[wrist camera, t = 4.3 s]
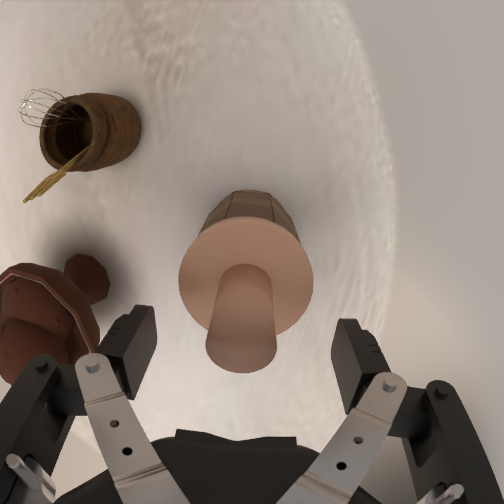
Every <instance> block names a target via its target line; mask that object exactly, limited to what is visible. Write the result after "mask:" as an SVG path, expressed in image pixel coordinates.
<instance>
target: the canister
mask: <svg viewBox="0 0 504 504" xmlns="http://www.w3.org/2000/svg"><path fill="white" fill-rule="evenodd" d="M234 217H257V218H262V219H266V220H269V221H271V222H274V223H276V224H278V225H280V226H282V227H283V228H285V229H286V230H287V231H289V232H290V233H291V234H292V235H293V236H294V237H295V238H296V239H297V240H298V241H299V238H298V235H297V232H296V230H295V227H294V224H293V221H292V219H291V217H290V216H289V215H288V214H287V213H286V212H285V210H284V209H283V207H282V206H281V204H280V203H279V202H278V201H277V200H275V199H274V198H273V197H272V196H271V195H270V194H269V193H263V192H259V191H253V190H246V191H240V192H237V191H235V192H233V193H232V194H231V195H230V196H228V197H227V198H225V199H224V200H223V201H222V202H221V203H220V204H219V205H218V206H217V207H216V208H215V209H214V210H213V211H212V212H211V213H210V214H209V216H208V218H207V219H206V221H205V223H204V225H203V227H202V228H201V230H200V232H199V234H200V233H201V232H203V231H204V230H205V229H206V228H208V227H210V226H211V225H213V224H215V223H217V222H219V221H222V220H225V219H229V218H234ZM199 234H198V235H199ZM299 243H300V241H299ZM300 244H301V243H300Z"/></svg>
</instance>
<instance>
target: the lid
mask: <svg viewBox="0 0 504 504" xmlns="http://www.w3.org/2000/svg"><path fill="white" fill-rule="evenodd" d="M179 291H180V294H181V298H182V301H183V303H184V305H185V307H186V309H187V310H188V312H189V313H190V314H191V316H192V317H193V318H194V319H195V320H196V321H197V322H198V323H199V324H200V325H201V326H203V327H204V328H205V329H207V330H208V334H207V339H206V351H207V354H208V356H209V357H210V359H211V360H212V361H213V362H214V363H215V364H216V365H218V366H219V367H221V368H222V369H225V370H227V371H230V372H235V373H250V372H255V371H258V370H260V369H262V368H264V367H266V366H267V365H268V364H269V363H270V362H271V361H272V360H273V358H274V357H275V354H276V351H277V342H276V335H278V334H280V333H282V332H284V331H285V330H287V329H288V328H290V327H291V326H292V325H294V324H295V323H296V322H297V321H298V320H299V319H300V317H301V316H302V315H303V313H304V312H305V310H306V308H307V307H308V305H309V302H310V300H311V296H312V292H313V274H312V269H311V266H310V263H309V260H308V258H307V255H306V252H305V251H304V249H303V247H302V245H301V244H300V243H299V241H298V240H297V239H296V238H295V237H294V236H293V235H292V234H291V233H290V232H289V231H287V230H286V229H285V228H283V227H282V226H280V225H278V224H276V223H274V222H271V221H269V220H266V219H262V218H257V217H234V218H229V219H225V220H222V221H219V222H217V223H215V224H213V225H211V226H210V227H208V228H206V229H205V230H204V231H203V232H201V233H200V234H199V235H198V236H197V237H196V238H195V240H194V241H193V242H192V244H191V245H190V247H189V249H188V250H187V252H186V254H185V256H184V258H183V260H182V263H181V266H180V271H179Z"/></svg>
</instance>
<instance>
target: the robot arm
mask: <svg viewBox="0 0 504 504" xmlns="http://www.w3.org/2000/svg"><path fill="white" fill-rule="evenodd" d="M156 345H157V330H156V322H155V314H154V308H153V306H146V305H137V304H136V305H135V306H134V308H133V309H132V311H131V312H130V314H129V315H128V314H124V315H122V316H121V317H119V318H118V319H116V320H115V322H114V323H113V325H112V326H111V328H110V329H109V331H108V332H107V334H106V335H105V337H104V338H103V340H102V342H101V343H100V345H99V346H98V348H97V349H96V351H95V352H94V353H91V354H87V355H84V356H82V357H81V358H79V359H78V361H77V362H76V364H75V365H58V364H57V361H56V359H55V358H54V357H53V356H51V355H49V354H40V355H37V356H35V357H33V358H32V359H30V360H29V362H28V363H27V364H26V366H25V367H24V369H23V370H22V372H21V373H20V374H19V376H18V377H17V379H16V380H15V382H14V383H13V385H12V386H11V388H10V390H9V391H8V393H7V394H6V396H5V397H4V399H3V400H2V402H1V403H0V504H382V503H380V502H379V501H378V500H376V499H375V498H374V497H373V496H371V495H370V494H369V493H367V492H366V491H365V490H364V489H363V488H361V487H360V486H359V484H360V483H361V481H362V479H363V478H364V476H365V474H366V472H367V471H368V469H369V467H370V466H371V464H372V462H373V460H374V459H375V457H376V455H377V453H378V451H379V449H380V448H381V446H382V443H383V442H384V440H385V438H386V436H394V437H401V438H402V442H403V446H404V449H405V453H406V456H407V460H408V464H409V468H410V472H411V475H412V479H413V484H414V487H415V492H416V496H417V501H418V502H417V503H416V504H504V500H503V497H502V494H501V492H500V489H499V486H498V483H497V481H496V478H495V475H494V473H493V470H492V468H491V465H490V463H489V461H488V458H487V456H486V454H485V451H484V449H483V447H482V444H481V442H480V440H479V438H478V436H477V433H476V431H475V429H474V427H473V425H472V423H471V420H470V418H469V416H468V414H467V412H466V410H465V408H464V406H463V404H462V402H461V400H460V398H459V396H458V394H457V392H456V391H455V389H454V388H453V386H451V385H450V384H449V383H447V382H445V381H441V380H434V381H432V382H430V383H429V384H428V385H427V387H426V389H421V388H413V387H409V386H407V384H406V382H405V380H404V379H403V378H402V377H400V376H399V375H397V374H394V373H392V372H391V370H390V368H389V366H388V364H387V362H386V360H385V357H384V356H383V353H382V352H381V349H380V347H379V346H378V343H377V341H376V339H375V337H374V336H373V335H372V334H371V333H370V332H369V331H368V330H362V329H361V327H360V325H359V323H358V321H357V319H341V318H340V319H339V320H338V323H337V327H336V331H335V335H334V339H333V343H332V348H331V360H332V364H333V367H334V371H335V375H336V378H337V382H338V386H339V390H340V394H341V397H342V401H343V405H344V409H345V413H346V415H348V416H347V417H346V419H345V420H344V422H343V423H342V425H341V426H340V427H339V429H338V430H337V432H336V433H335V434H334V436H333V437H332V439H331V440H330V441H329V443H328V444H327V445H326V447H325V448H324V449H323V451H322V452H321V453H318V452H316V451H315V450H312V449H310V448H307V447H304V446H300V445H297V441H296V437H261V438H255V439H249V440H242V441H233V440H229V439H226V438H222V437H219V436H215V435H212V434H209V433H206V432H198V431H190V430H182V429H177V430H176V434H175V437H167V438H162V439H158V440H155V441H152V442H150V441H149V439H148V438H147V436H146V434H145V432H144V430H143V428H142V427H141V425H140V423H139V421H138V419H137V417H136V415H135V413H134V411H133V409H132V407H131V405H130V403H129V401H128V399H129V400H134V399H135V397H136V394H137V392H138V389H139V387H140V384H141V382H142V379H143V377H144V375H145V372H146V370H147V367H148V365H149V363H150V360H151V358H152V356H153V353H154V351H155V348H156ZM75 416H88V418H89V421H90V424H91V426H92V429H93V432H94V435H95V437H96V440H97V443H98V445H99V448H100V450H101V453H102V455H103V458H104V460H105V462H106V465H107V467H108V469H107V470H105V471H104V472H102V473H100V474H99V475H97V476H95V477H94V478H92V479H90V480H89V481H87V482H85V483H83V484H82V485H80V486H78V487H76V488H74V489H73V490H71V491H69V492H67V493H65V494H64V495H62V496H60V497H59V498H58V499H57V500H56V501H55V493H56V486H55V483H54V481H53V480H52V478H51V475H52V472H53V469H54V467H55V464H56V462H57V459H58V457H59V454H60V452H61V449H62V447H63V444H64V442H65V439H66V437H67V435H68V432H69V430H70V428H71V425H72V423H73V421H74V418H75Z"/></svg>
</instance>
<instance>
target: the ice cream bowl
mask: <svg viewBox="0 0 504 504" xmlns="http://www.w3.org/2000/svg"><path fill="white" fill-rule="evenodd" d="M109 287H110V283H109V280H108V277H107V274H106V270H105V268H104V267H103V266H102V265H100V264H99V263H98V262H97V261H96V260H95V259H94V258H93V257H92V256H87V255H83V254H76V255H75V256H73V257H71V258H70V259H68V260H67V262H66V264H65V269H64V274H63V273H62V272H61V271H60V270H56V269H52V268H48V267H44V266H41V265H37V264H33V263H20V264H17V265H14V266H12V267H9V268H8V269H7V270H5V271H4V272H3V273H2V274H1V275H0V375H1V377H2V378H3V379H4V380H5V381H6V382H7V383H9V384H11V385H13V383H14V382H15V380H16V379H17V377H18V376H19V374H20V373H21V372H22V370H23V369H24V367H25V366H26V364H27V363H28V362H29V360H30V359H32V358H33V357H35V356H37V355H40V354H49V355H51V356H53V357H54V358H55V359H56V361H57V364H58V365H75V364H76V362H77V361H78V359H79V358H81V357H82V356H84V355H87V354H91V353H94V352H95V351H96V349H97V348H98V345H99V342H100V329H99V326H98V324H97V322H96V319H95V317H94V314H93V312H92V309H91V307H90V304H94V303H96V302H99V301H101V300H103V299H105V298H106V297H107V294H108V290H109Z"/></svg>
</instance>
